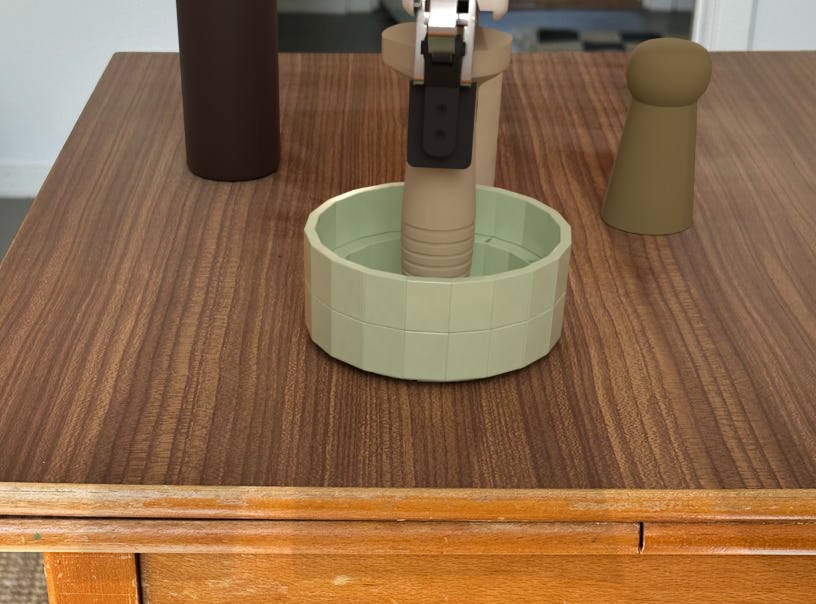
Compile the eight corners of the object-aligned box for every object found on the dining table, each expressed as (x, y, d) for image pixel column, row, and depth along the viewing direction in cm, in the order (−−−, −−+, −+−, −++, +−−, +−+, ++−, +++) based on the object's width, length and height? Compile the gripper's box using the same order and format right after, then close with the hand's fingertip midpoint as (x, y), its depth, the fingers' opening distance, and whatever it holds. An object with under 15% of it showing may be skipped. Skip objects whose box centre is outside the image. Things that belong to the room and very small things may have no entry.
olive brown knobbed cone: (583, 207, 89) (605, 34, 82) (660, 196, 91) (688, 25, 84) (630, 240, 85) (657, 59, 78) (710, 227, 87) (743, 49, 80)
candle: (415, 212, 88) (422, 54, 82) (409, 183, 93) (415, 31, 87) (497, 211, 89) (510, 54, 82) (487, 182, 93) (499, 30, 87)
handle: (397, 294, 77) (405, 17, 67) (502, 314, 75) (525, 31, 65) (363, 327, 73) (366, 40, 64) (471, 349, 71) (491, 56, 62)
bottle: (177, 156, 97) (154, -160, 85) (266, 146, 99) (257, -164, 86) (199, 187, 92) (178, -143, 79) (292, 177, 94) (286, -148, 81)
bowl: (558, 286, 79) (569, 186, 76) (560, 399, 68) (573, 289, 65) (323, 273, 81) (323, 175, 77) (288, 382, 70) (286, 273, 66)
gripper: (554, -264, 50) (512, 211, 61) (552, -296, 63) (518, 100, 74) (356, -267, 50) (351, 203, 62) (395, -298, 64) (385, 94, 75)
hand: (442, 143), depth 68 cm, fingers closed on handle, 5 cm apart
